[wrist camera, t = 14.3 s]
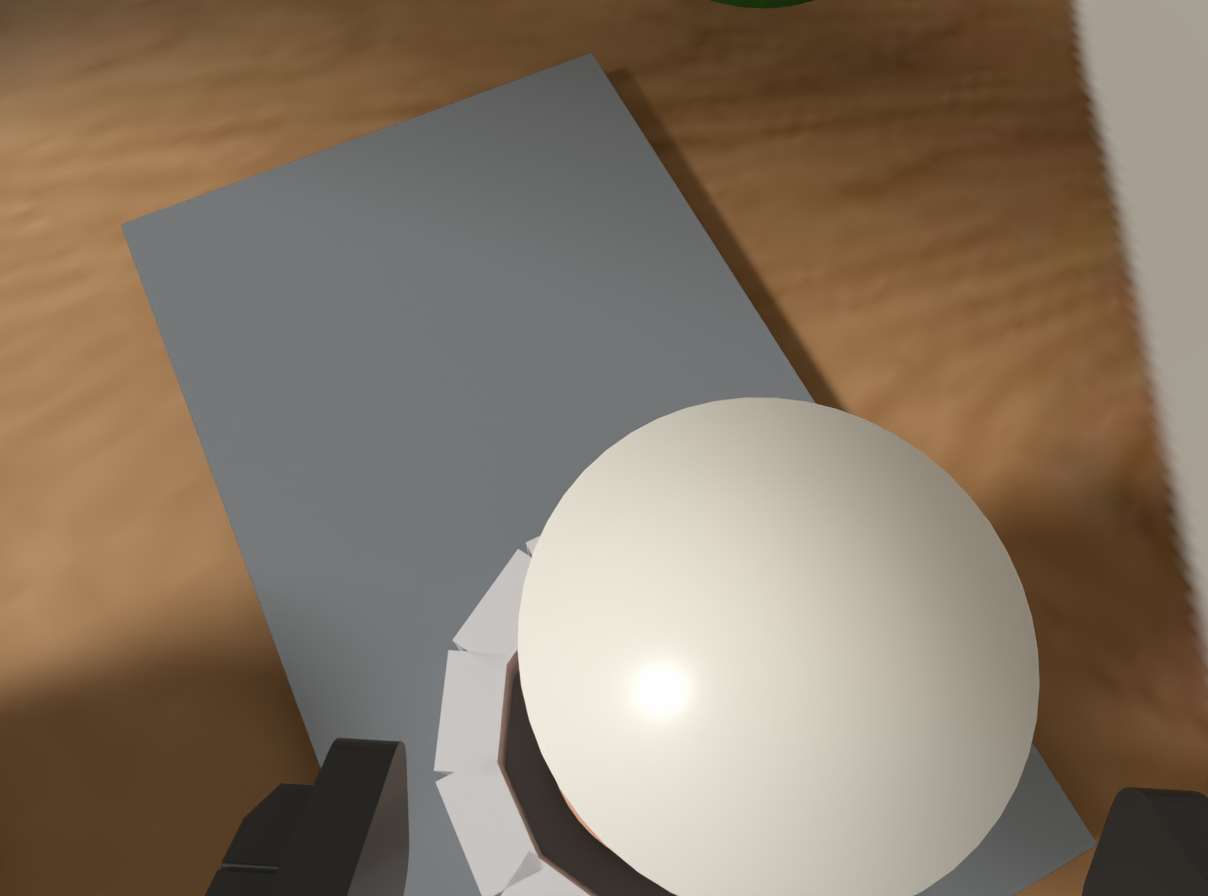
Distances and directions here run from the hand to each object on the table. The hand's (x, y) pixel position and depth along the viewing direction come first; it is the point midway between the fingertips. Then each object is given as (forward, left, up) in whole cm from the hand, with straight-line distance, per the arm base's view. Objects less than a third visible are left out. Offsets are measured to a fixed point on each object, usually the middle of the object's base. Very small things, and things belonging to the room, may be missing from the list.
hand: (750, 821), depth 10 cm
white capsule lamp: (-2, +1, -10) cm, 10 cm away
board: (-8, +1, -11) cm, 13 cm away
